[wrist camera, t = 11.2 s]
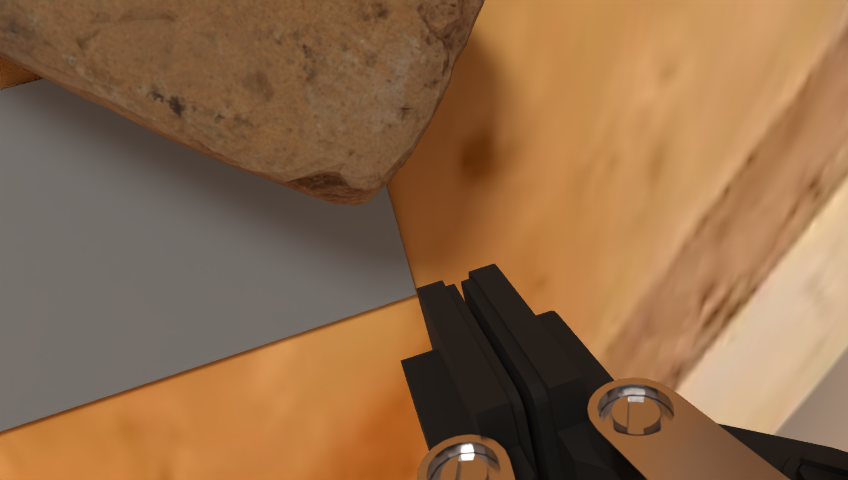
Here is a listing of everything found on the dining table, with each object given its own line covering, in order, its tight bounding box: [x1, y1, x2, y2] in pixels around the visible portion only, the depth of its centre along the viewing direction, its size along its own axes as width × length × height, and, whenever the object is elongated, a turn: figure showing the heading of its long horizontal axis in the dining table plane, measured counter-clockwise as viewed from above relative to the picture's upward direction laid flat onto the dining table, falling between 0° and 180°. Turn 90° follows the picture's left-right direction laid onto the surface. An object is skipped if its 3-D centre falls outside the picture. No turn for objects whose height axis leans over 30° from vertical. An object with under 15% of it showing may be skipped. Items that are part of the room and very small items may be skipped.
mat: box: [0, 78, 417, 432], centre depth 26 cm, size 22×14×1 cm, turn 104°
